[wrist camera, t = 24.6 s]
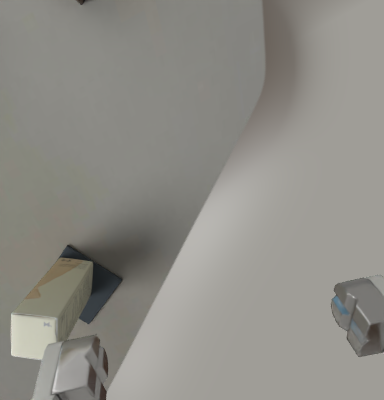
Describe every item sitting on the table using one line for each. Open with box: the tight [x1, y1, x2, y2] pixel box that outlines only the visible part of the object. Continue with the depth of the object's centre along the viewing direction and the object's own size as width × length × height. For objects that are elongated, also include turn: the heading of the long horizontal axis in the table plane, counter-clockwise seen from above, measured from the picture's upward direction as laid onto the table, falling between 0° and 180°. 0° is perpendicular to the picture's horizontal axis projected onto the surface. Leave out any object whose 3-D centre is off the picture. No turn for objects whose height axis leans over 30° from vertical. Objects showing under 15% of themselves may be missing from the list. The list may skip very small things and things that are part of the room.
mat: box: [56, 246, 122, 324], centre depth 40 cm, size 8×8×1 cm
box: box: [11, 258, 93, 360], centre depth 34 cm, size 5×4×11 cm
